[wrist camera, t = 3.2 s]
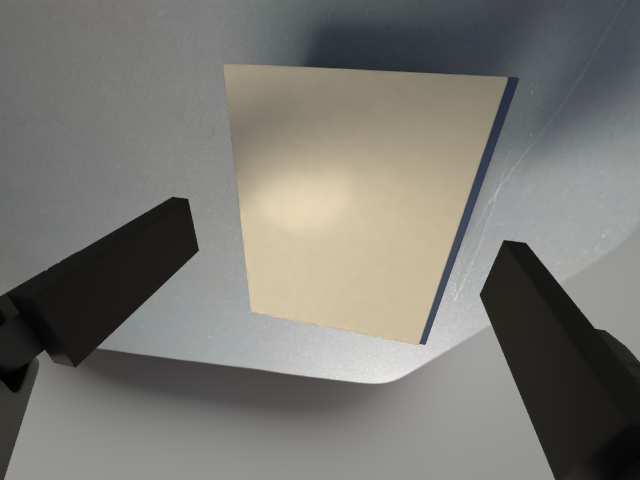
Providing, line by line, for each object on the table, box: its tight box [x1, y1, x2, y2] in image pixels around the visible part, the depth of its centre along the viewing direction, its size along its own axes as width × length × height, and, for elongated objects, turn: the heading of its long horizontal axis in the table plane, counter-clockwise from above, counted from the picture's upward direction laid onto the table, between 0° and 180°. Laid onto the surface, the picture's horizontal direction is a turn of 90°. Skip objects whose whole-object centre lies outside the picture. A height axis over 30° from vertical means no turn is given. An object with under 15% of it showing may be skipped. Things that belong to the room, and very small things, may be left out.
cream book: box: [223, 63, 519, 345], centre depth 14 cm, size 10×13×2 cm
